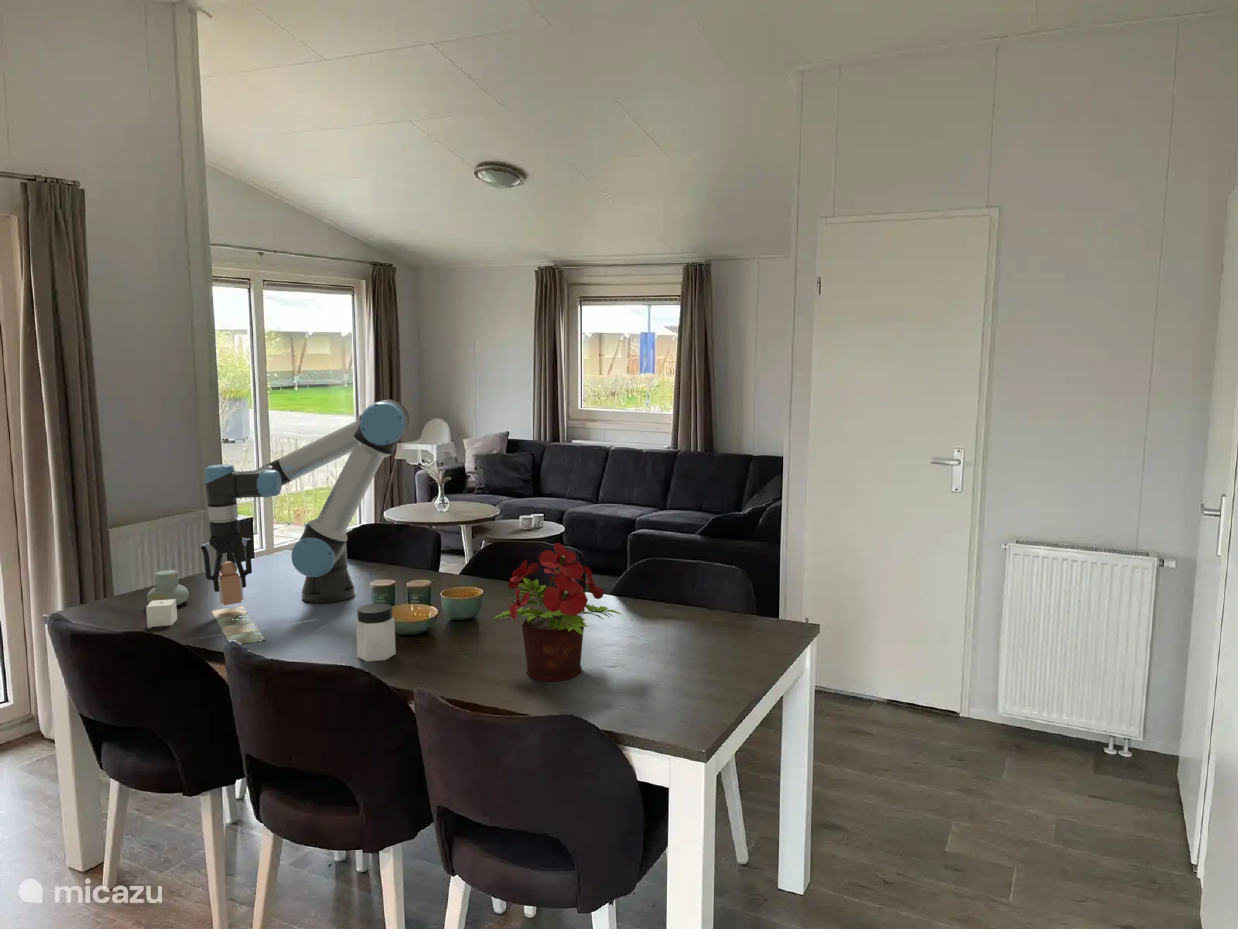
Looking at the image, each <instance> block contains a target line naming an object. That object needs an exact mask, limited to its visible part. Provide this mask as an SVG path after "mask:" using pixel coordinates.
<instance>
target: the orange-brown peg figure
mask: <svg viewBox="0 0 1238 929" xmlns="http://www.w3.org/2000/svg"><path fill="white" fill-rule="evenodd" d="M237 571H238V568H237V565H236V562H233V561H230V560H228V561H224V562H223V563H221V566H220V573H219V579H221V581H222V592H223V602H224V603H222V605H223V606H228V605H235V604H239V603H242V600H241V593H240V582H239V576H240V574H239V573H238V572H237Z"/></svg>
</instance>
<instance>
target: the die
mask: <svg viewBox="0 0 1238 929" xmlns="http://www.w3.org/2000/svg"><path fill="white" fill-rule="evenodd" d="M145 610H146V611H145V612H146V624H147V629H152V627H153V628H154V627H165V626H167V627H168V626H173V625H174V624H175V622H176V621H177V620H178V611H177V610H178V609H177V606H176V599H170V600H155V601H151V602H150V603H149V602H148V605H146V607H145Z"/></svg>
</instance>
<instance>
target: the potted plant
mask: <svg viewBox="0 0 1238 929" xmlns="http://www.w3.org/2000/svg"><path fill="white" fill-rule="evenodd" d="M553 548H554V551H555V552H553V551H552V550H544V551H542V552H541V553H540V556H539V563H540V564H541V565H542V566H544V567H545V568H544V569H543V572H544V573H546V574H552V575H553V576H552V575H549V576H548V580H550V584H549V585H548V587H546V586H547V584H540V583H539V579H534V580H532V581H531V580H530V578H528V575H532V574H534V573H535V572H537V571H539V570H540V565H539V563H537V562H533V563H530V564H529V565H528V559H525V560H524V561H522V563H521V564H520V565H519V566H518V568H516V569H514V570H513V572H512V574H511V576H512V577H510V579H509V581H508V584H507V585H508V586H507V587H508V588H509V589H512V590H515V593H514V594H515V595H514V597H516V599H514V600H513V604H512V605H510V606H509V610H506V611H503V612H501V613H500V614H498V615H495V616H494V617H492V618H491V620H495V619H497V618H499V617H501V618H500V620H502V619H503V618H504V619H506V618H509V616H510V617H511V618H512V619H513V620H516V618H517V617H518V616H521V617H523V616H528V617H527V618H526V619H525V620H524V621H523V623H522V625H521V630H522V637H523V645H524V652H525V662H526V668H525V670H526V671H525V673H526V675H527V677H530V679H534V680H536V681H542V682H561V681H562V682H563V681H567V680H571V679H573V678H576V677H578V676H579V675H580V674H581V672H582V665H581V662H582V661H581V660H582V652H583V638H584V628H585V627H587V628H588V627H589V625H587V624H586V623H585V622H584V621H586V619H585V618H583V617H582V616H580V614H584V615H585V614H588V615H593V616H596V617H598V618H599V619H602V620H605V619H604V618H603V617H602V616H601V615H604V616H606V617H607V618H610V616H612V617H613V618H614V617H615V616H613V614H611V613H615V614H617V615H621V616H622V613H620V612H619V611H617V610H614V609H609V608H608V607H607V606H603V605H601V606H599V607H597V606H595V605H591V604H587V603H588V600H589V599H588V598H587V595H586V593H585V590H587V588H588V590H589V592H590V593H591V594H592V596H593V598H594V599H597V600H599V599H602V598H603V597H604V593H605V592H604V589H603V588H601V587H597V586H596V584H595V583H596V581H595V580H594V579H593V571H592V570H591V569H590V567H588V566H586V565H584V567H583V565H582V564H581V562H580V561H576V560H577V554H576V553H575V552H574V551H571V550H567V549H566V547H564V545H563V544H562V543H560V542H554V544H553ZM556 568H557V569H556ZM584 573H585V574H586V578H587V580H588V581H586V580H585V579H584V577H582V576H583V575H584ZM576 580H578V581H583V582H585V584H586V586H585V588H584V587H583V585H581V584H579V583H578V581H576ZM522 581H523V582H524V583H523V582H522ZM521 582H522V583H521ZM553 582H555V584H554V585H553V586H552V584H553ZM539 584H540V585H539ZM518 587H520V588H518ZM535 594H536V595H535ZM520 597H522V598H521V601H520ZM530 598H533V599H537V600H538V602H537V601H535V600H532V599H530ZM538 603H539V604H538ZM526 605H534V606H540V607H543V608H542V609H541V610H540V609H536V608H535V609H533V608H531V607H530V606H526ZM541 605H542V606H541ZM523 608H525V609H523ZM545 608H546V611H545ZM585 609H587V611H586V610H585ZM595 613H598V614H595ZM599 614H601V615H599Z"/></svg>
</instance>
